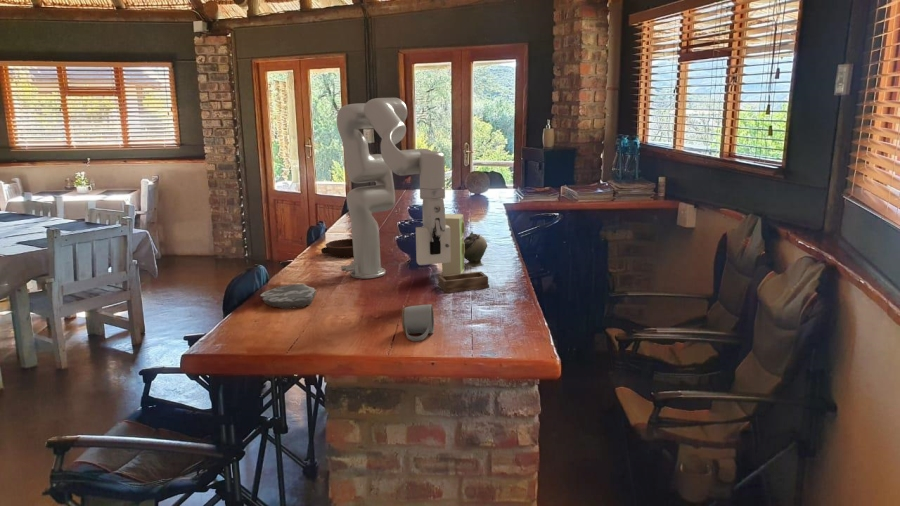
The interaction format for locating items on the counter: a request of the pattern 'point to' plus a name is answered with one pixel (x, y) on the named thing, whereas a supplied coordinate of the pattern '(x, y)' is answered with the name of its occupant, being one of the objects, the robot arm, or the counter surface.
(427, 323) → the ceramic mug
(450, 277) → the brown wooden tray
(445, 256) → the rectangular block
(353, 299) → the counter surface
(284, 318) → the counter surface
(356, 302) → the counter surface
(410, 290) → the counter surface
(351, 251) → the dish
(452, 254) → the toy refrigerator
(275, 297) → the brain slice
